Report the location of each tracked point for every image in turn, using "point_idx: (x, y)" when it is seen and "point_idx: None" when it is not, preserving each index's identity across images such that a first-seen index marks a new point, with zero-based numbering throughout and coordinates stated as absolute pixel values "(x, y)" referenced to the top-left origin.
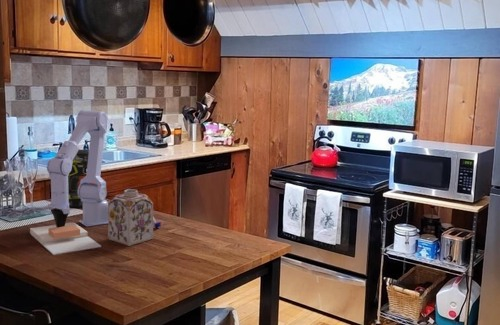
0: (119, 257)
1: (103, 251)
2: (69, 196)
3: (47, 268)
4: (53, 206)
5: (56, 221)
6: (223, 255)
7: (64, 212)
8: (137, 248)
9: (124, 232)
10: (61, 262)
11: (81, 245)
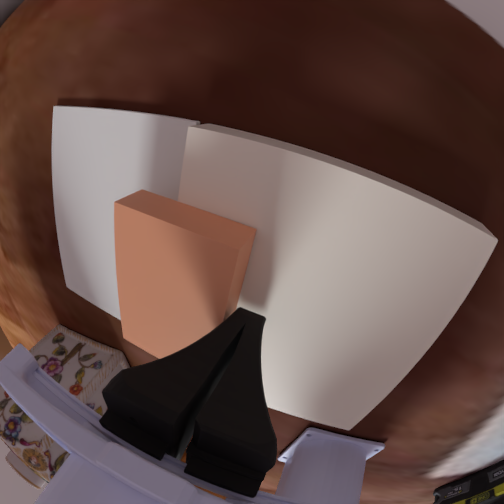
0: (11, 248)
1: (40, 256)
2: (497, 492)
3: (10, 57)
4: (95, 451)
5: (211, 343)
6: (17, 341)
7: (12, 352)
8: (46, 318)
9: (47, 352)
10: (15, 106)
11: (83, 249)
